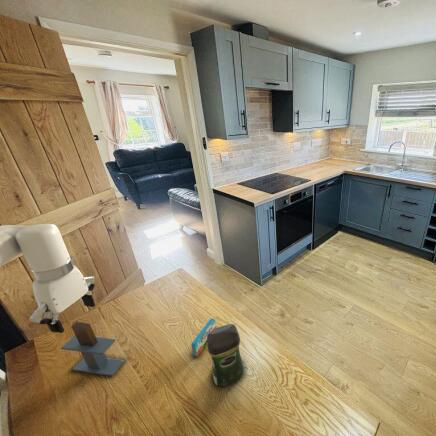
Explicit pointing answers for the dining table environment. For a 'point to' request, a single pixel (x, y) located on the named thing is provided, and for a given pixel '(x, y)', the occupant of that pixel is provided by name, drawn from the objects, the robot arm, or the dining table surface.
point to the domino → (84, 334)
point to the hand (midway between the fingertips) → (75, 317)
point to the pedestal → (94, 356)
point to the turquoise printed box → (202, 337)
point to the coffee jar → (225, 354)
